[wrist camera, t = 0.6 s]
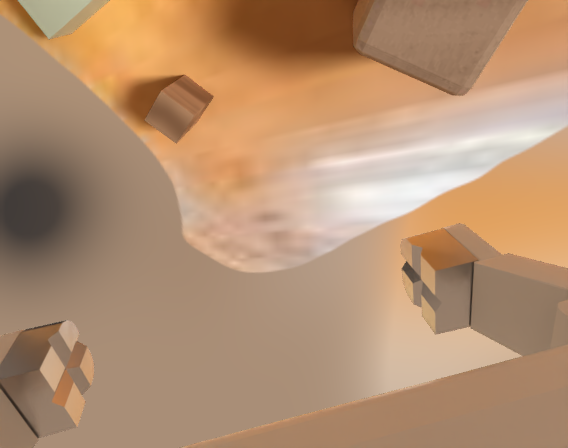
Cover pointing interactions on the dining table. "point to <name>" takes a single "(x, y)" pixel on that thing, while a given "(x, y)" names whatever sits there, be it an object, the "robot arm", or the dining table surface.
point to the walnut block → (178, 108)
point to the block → (434, 37)
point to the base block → (61, 14)
